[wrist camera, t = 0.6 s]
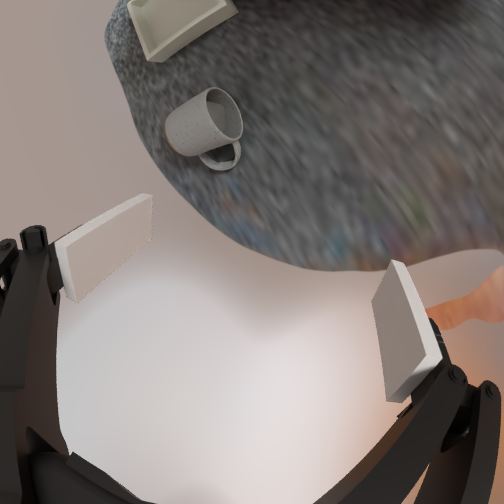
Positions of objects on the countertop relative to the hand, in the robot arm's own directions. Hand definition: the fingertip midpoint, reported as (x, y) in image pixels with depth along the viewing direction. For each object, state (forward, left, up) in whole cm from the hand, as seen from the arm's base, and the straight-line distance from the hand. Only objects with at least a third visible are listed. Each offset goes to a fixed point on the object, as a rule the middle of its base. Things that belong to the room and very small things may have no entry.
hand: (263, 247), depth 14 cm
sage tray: (+9, -33, -22) cm, 41 cm away
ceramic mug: (+12, -10, -23) cm, 28 cm away
